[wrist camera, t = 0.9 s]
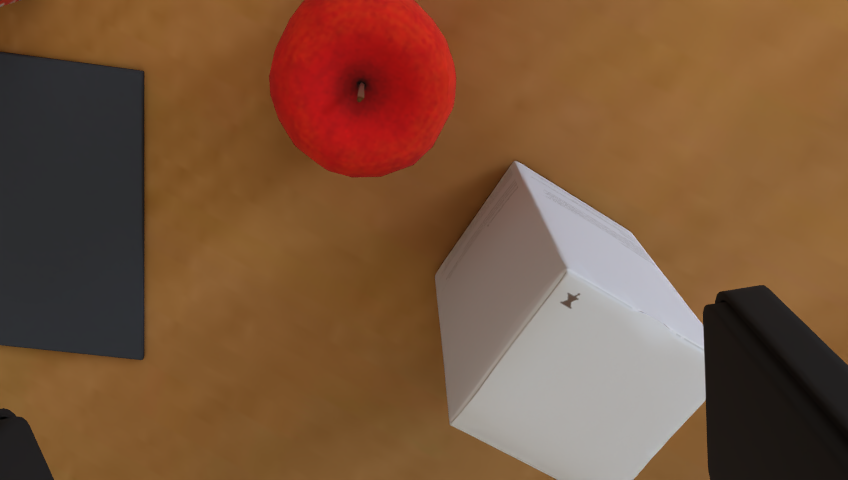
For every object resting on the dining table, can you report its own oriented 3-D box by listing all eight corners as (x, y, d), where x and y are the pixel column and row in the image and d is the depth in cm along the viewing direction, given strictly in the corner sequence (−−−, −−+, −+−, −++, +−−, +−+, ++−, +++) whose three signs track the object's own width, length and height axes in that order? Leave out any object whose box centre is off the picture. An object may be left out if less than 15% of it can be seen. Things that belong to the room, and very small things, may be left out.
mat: (-127, 34, 39) (-132, 35, 39) (144, 70, 40) (141, 72, 40) (-87, 332, 46) (-91, 335, 46) (144, 357, 47) (142, 360, 47)
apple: (278, -20, 39) (249, -9, 32) (447, -28, 39) (457, -19, 32) (297, 148, 42) (274, 192, 35) (452, 140, 42) (462, 183, 35)
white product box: (428, 276, 45) (439, 426, 32) (513, 155, 43) (566, 262, 29) (549, 345, 47) (609, 514, 34) (637, 234, 45) (742, 368, 31)
